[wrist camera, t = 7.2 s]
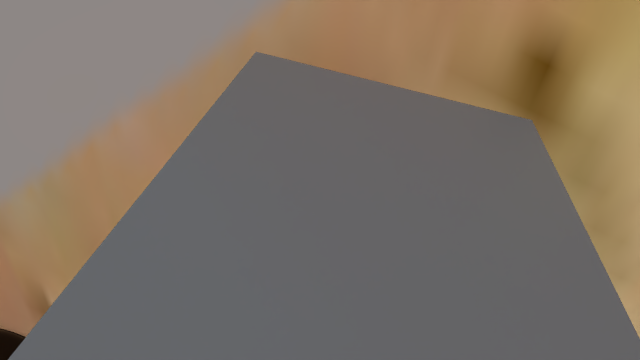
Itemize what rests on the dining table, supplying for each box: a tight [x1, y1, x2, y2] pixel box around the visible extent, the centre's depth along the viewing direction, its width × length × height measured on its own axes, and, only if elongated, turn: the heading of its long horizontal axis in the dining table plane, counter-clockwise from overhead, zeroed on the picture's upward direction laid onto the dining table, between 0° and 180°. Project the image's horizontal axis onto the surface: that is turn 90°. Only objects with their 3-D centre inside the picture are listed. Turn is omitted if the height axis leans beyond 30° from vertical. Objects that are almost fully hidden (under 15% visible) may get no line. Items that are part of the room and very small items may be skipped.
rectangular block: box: [8, 52, 640, 360], centre depth 10 cm, size 7×9×9 cm
